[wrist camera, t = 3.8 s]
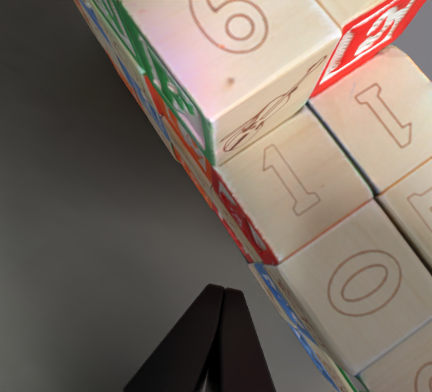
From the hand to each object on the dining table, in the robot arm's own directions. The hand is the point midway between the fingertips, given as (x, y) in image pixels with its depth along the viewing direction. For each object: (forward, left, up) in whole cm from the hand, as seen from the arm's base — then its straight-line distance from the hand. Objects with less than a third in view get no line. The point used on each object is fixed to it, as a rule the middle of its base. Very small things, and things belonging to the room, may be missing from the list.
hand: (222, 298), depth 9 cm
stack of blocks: (+7, +1, -9) cm, 11 cm away
